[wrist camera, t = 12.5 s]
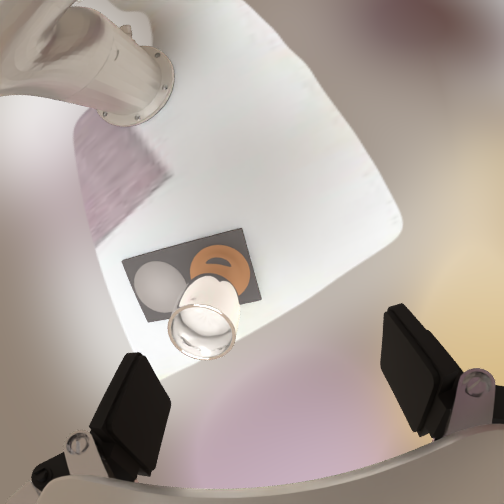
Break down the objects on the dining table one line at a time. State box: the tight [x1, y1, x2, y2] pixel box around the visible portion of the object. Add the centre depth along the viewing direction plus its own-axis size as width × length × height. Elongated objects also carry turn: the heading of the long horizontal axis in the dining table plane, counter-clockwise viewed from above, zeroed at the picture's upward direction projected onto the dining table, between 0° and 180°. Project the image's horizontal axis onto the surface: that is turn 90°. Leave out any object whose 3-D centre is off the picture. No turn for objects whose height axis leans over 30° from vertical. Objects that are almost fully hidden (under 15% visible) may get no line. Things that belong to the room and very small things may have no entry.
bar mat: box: [122, 228, 261, 322], centre depth 40 cm, size 11×19×1 cm, turn 105°
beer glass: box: [168, 253, 240, 360], centre depth 32 cm, size 7×7×15 cm
